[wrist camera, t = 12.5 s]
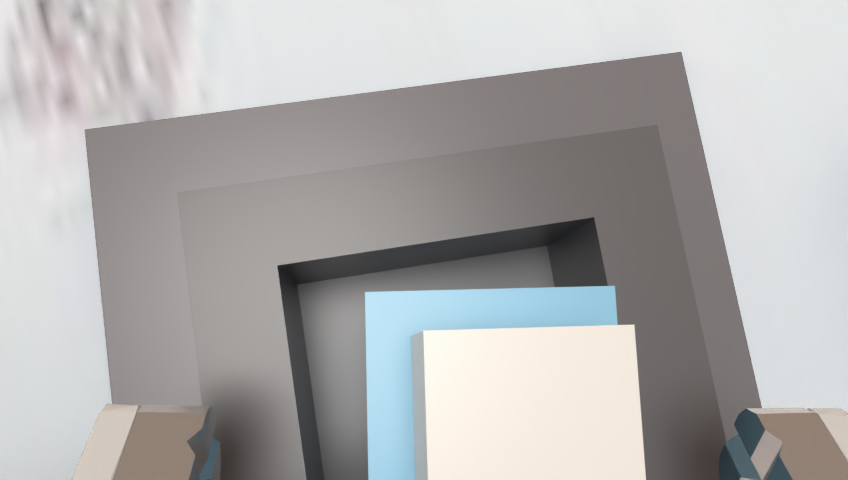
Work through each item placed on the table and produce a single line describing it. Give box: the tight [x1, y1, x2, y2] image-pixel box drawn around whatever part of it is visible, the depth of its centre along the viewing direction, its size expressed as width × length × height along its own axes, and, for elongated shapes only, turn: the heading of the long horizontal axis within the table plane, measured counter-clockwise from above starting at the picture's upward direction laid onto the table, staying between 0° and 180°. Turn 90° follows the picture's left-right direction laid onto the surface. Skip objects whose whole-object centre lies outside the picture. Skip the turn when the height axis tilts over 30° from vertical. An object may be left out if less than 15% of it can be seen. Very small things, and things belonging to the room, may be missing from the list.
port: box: [85, 52, 762, 480], centre depth 16 cm, size 16×16×5 cm
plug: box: [365, 286, 646, 480], centre depth 13 cm, size 4×4×10 cm
